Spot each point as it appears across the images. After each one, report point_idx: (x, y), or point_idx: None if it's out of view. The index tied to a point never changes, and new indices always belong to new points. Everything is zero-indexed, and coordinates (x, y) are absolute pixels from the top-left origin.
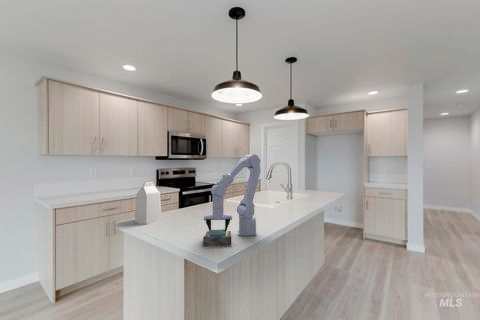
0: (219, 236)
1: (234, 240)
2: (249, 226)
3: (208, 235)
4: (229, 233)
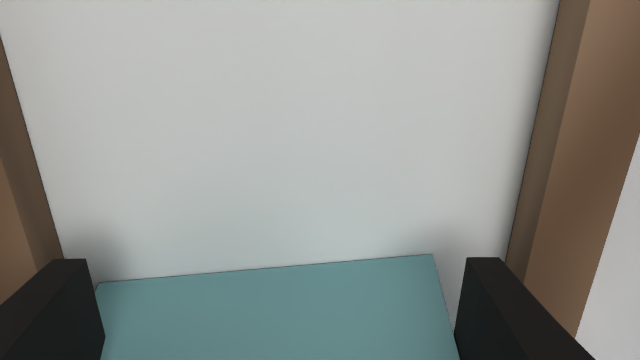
0: None
1: (616, 325)
2: None
3: (3, 96)
4: (615, 92)
